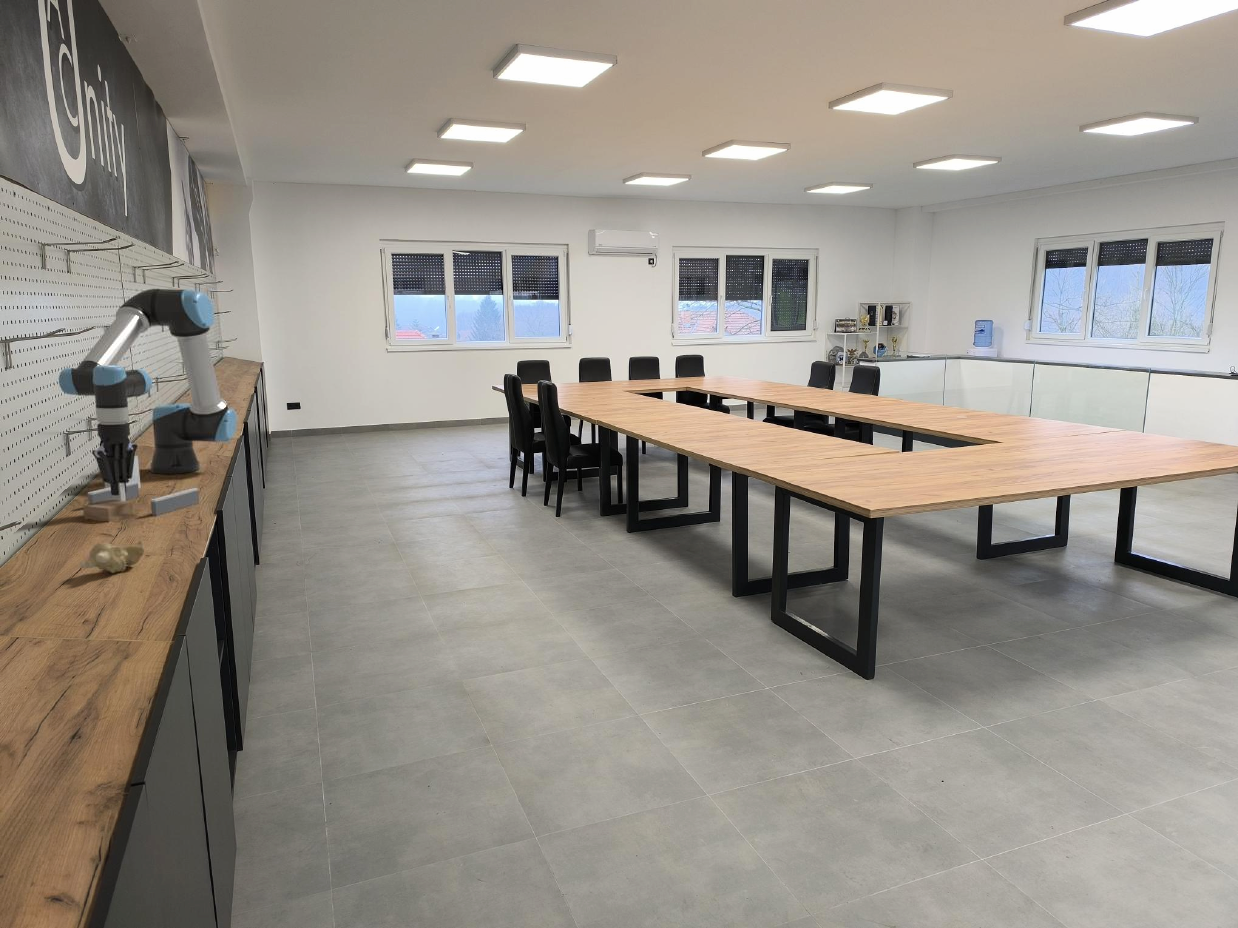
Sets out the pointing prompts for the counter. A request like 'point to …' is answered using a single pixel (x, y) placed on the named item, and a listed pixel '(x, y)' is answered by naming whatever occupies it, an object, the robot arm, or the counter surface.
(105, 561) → the beige lumpy piece
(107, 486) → the small box
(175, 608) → the counter surface
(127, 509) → the walnut block
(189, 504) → the corridor walls
